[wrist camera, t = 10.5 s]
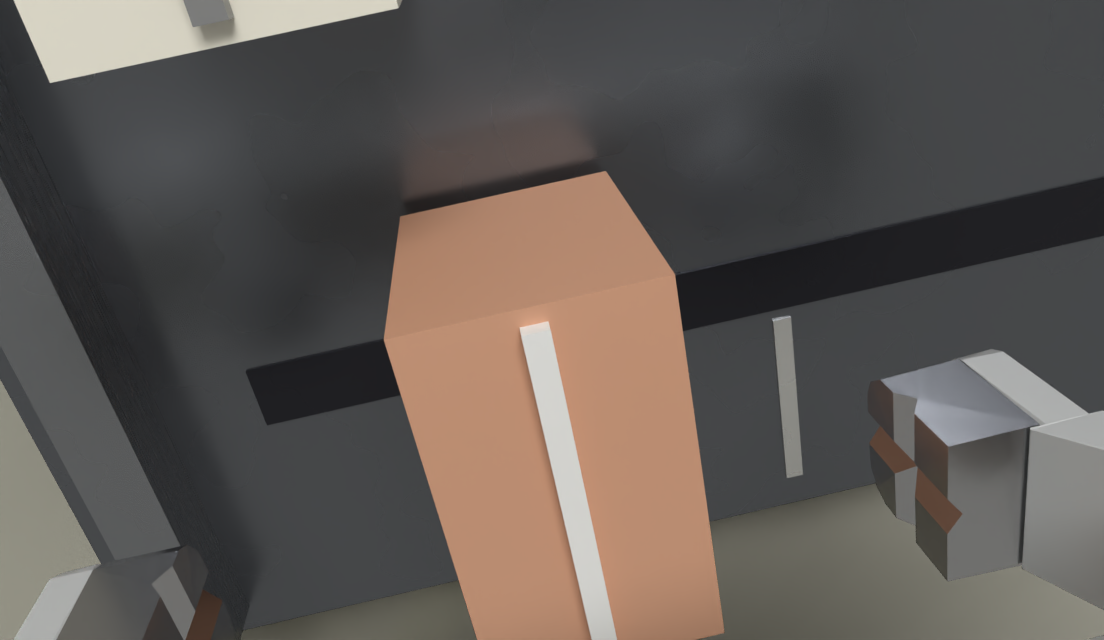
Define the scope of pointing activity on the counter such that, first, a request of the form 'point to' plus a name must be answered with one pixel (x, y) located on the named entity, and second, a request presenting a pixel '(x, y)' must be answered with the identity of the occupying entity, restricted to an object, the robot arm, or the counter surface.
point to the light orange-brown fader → (555, 415)
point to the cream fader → (164, 27)
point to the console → (505, 166)
